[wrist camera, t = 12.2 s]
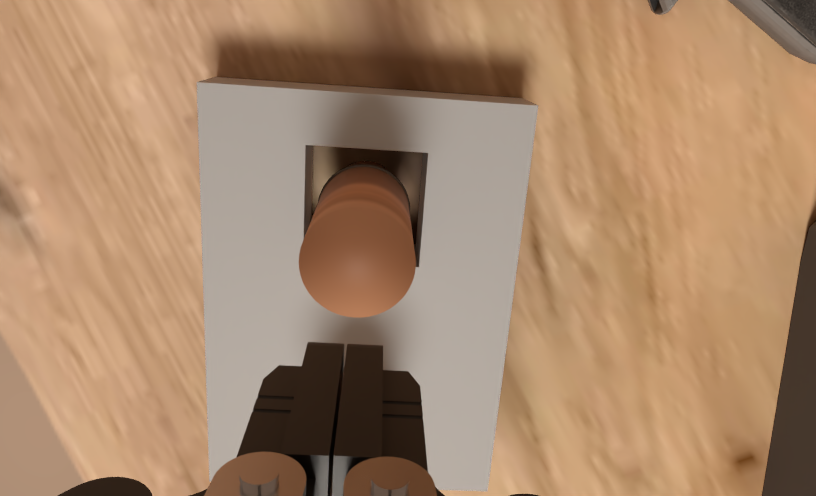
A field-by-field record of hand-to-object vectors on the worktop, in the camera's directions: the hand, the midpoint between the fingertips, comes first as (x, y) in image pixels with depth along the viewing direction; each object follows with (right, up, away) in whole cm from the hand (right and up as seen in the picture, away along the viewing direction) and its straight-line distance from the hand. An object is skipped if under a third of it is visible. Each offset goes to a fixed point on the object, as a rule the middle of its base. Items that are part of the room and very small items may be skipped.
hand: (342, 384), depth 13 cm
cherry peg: (-1, +5, +16) cm, 17 cm away
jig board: (-1, +1, +17) cm, 17 cm away
